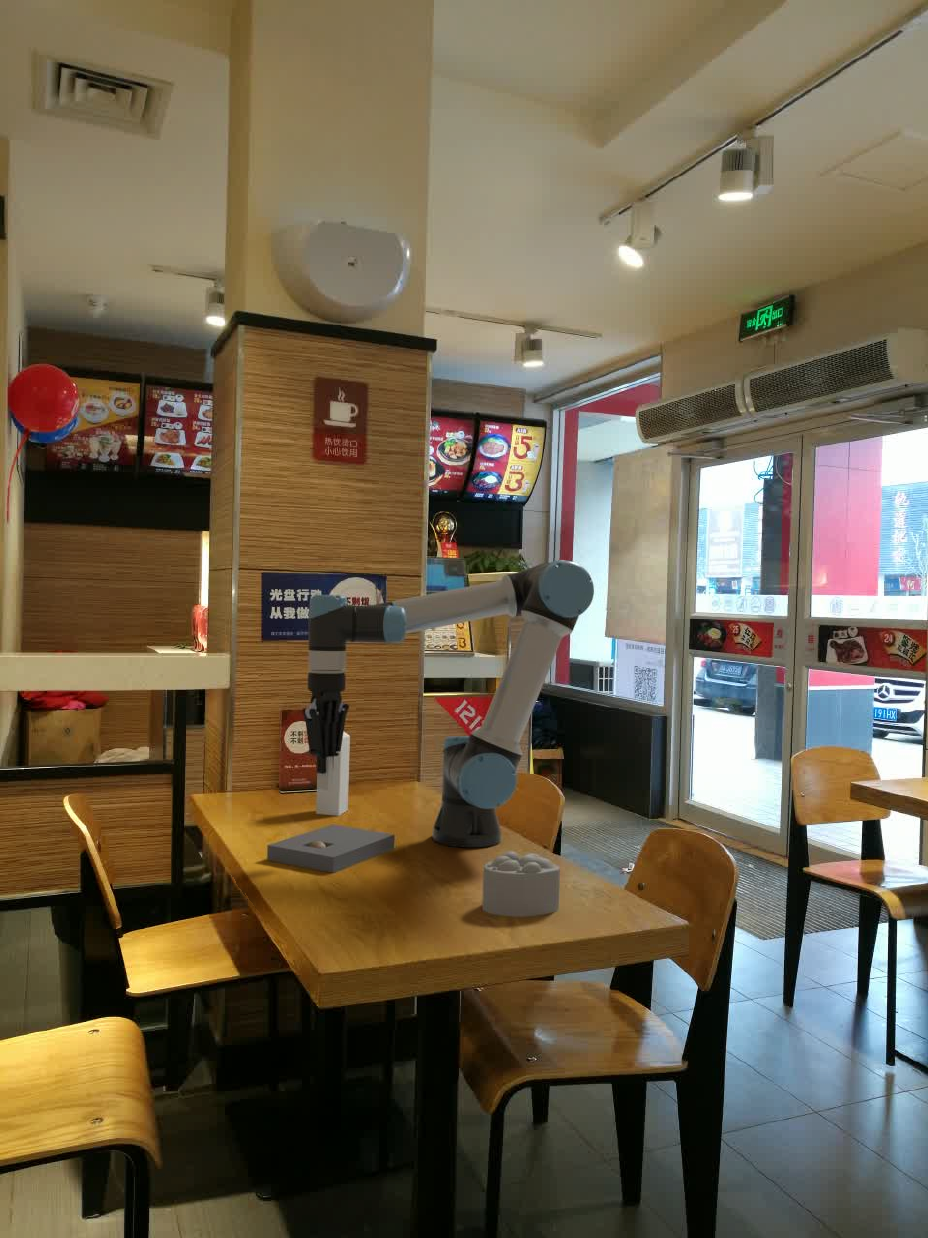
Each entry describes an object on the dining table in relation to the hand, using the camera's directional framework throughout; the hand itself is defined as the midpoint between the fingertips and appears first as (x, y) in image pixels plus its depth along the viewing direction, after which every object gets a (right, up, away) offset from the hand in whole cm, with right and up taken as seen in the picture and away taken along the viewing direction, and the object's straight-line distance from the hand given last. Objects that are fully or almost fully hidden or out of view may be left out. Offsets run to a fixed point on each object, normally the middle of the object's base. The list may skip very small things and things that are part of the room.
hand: (324, 788), depth 188 cm
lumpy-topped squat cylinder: (+37, -16, -26) cm, 48 cm away
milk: (-5, -14, +43) cm, 45 cm away
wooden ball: (-1, -12, 0) cm, 12 cm away
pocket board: (+1, -14, +4) cm, 15 cm away
